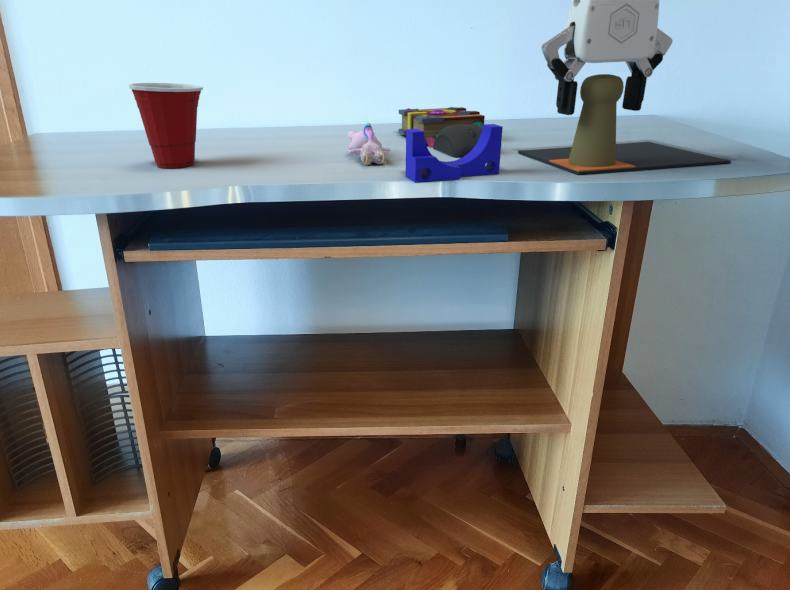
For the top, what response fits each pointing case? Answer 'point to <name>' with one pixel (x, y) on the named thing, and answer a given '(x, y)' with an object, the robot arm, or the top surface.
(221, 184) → the top surface
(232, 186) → the top surface
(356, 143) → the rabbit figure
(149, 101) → the plastic cup
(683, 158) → the desk mat
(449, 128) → the computer mouse
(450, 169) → the blue cradle bracket
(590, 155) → the cork
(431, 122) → the decorative book
